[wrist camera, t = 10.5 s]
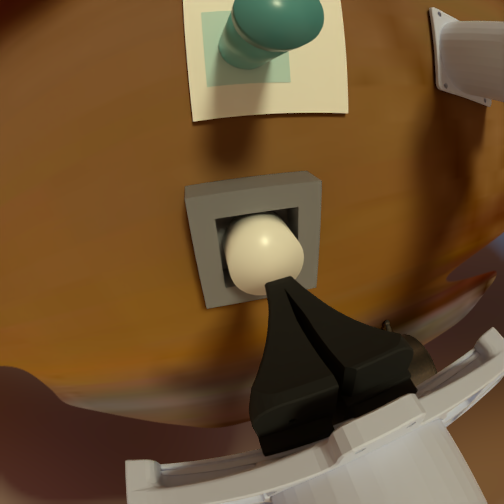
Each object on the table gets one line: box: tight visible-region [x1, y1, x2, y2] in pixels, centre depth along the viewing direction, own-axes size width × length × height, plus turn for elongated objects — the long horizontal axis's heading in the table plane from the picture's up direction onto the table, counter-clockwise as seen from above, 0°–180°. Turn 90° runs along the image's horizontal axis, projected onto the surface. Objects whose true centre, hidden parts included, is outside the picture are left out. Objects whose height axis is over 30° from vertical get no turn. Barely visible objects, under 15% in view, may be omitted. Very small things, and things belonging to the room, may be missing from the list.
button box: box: [185, 171, 322, 309], centre depth 19 cm, size 8×8×2 cm
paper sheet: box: [183, 0, 348, 122], centre depth 12 cm, size 10×14×1 cm
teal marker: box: [219, 0, 324, 69], centre depth 10 cm, size 3×3×7 cm
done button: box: [223, 211, 304, 295], centre depth 17 cm, size 4×4×3 cm
